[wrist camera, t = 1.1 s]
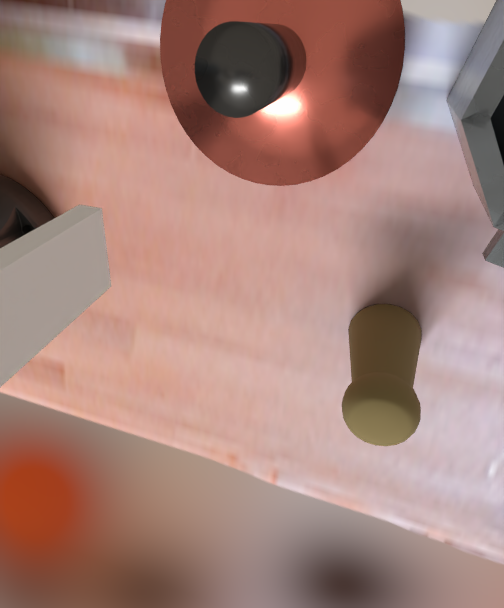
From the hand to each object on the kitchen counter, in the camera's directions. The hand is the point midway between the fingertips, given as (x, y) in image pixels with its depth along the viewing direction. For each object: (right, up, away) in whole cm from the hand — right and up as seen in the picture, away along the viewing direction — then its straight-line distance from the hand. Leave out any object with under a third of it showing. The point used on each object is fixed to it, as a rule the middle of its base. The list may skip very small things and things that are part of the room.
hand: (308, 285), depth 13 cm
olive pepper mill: (+10, -3, +25) cm, 27 cm away
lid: (+1, +16, +17) cm, 23 cm away
